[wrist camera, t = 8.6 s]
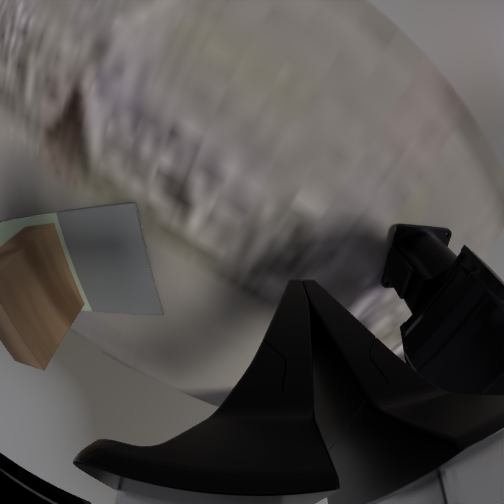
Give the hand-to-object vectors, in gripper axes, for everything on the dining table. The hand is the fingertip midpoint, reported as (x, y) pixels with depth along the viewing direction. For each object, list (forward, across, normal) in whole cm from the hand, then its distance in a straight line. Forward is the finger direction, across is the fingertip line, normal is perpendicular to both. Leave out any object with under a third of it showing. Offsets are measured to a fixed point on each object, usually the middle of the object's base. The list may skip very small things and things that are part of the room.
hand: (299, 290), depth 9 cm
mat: (+13, +23, +8) cm, 28 cm away
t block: (+13, +28, +9) cm, 32 cm away
